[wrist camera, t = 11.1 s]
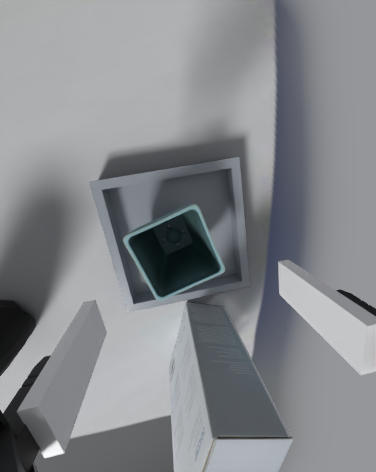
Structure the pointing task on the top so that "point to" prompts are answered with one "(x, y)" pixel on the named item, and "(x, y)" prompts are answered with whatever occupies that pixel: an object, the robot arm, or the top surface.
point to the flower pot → (175, 252)
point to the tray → (159, 204)
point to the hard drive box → (220, 400)
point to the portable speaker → (12, 332)
